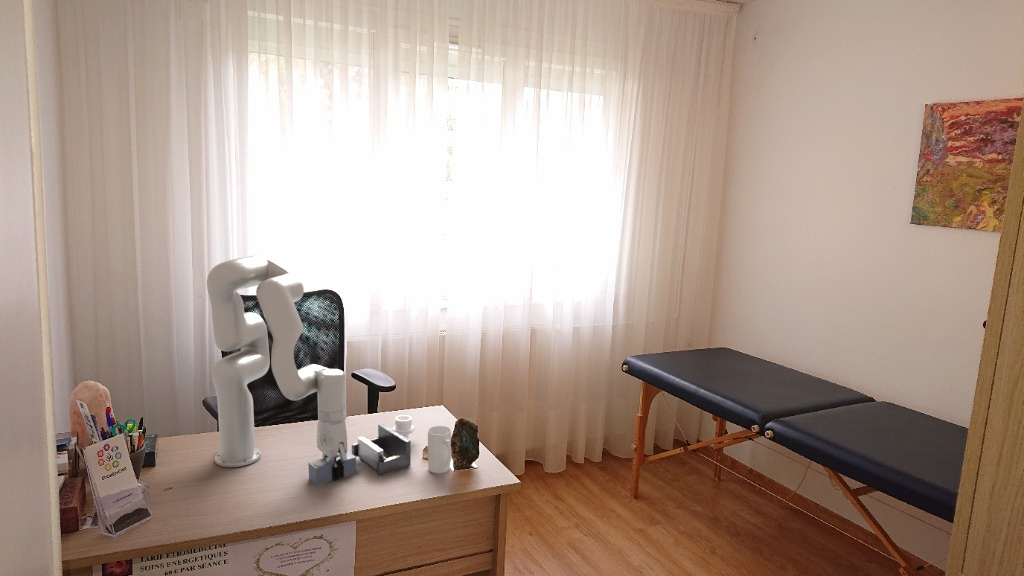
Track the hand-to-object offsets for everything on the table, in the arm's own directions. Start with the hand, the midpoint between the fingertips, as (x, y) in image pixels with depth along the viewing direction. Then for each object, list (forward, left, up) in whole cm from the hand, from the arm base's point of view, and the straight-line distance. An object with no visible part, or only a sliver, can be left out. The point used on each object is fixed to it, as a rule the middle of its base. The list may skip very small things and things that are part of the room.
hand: (333, 474), depth 185 cm
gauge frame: (0, +15, 0) cm, 15 cm away
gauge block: (0, 0, -1) cm, 1 cm away
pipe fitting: (-8, +28, -1) cm, 29 cm away
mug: (+16, +26, -1) cm, 30 cm away
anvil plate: (+1, +12, 0) cm, 12 cm away
